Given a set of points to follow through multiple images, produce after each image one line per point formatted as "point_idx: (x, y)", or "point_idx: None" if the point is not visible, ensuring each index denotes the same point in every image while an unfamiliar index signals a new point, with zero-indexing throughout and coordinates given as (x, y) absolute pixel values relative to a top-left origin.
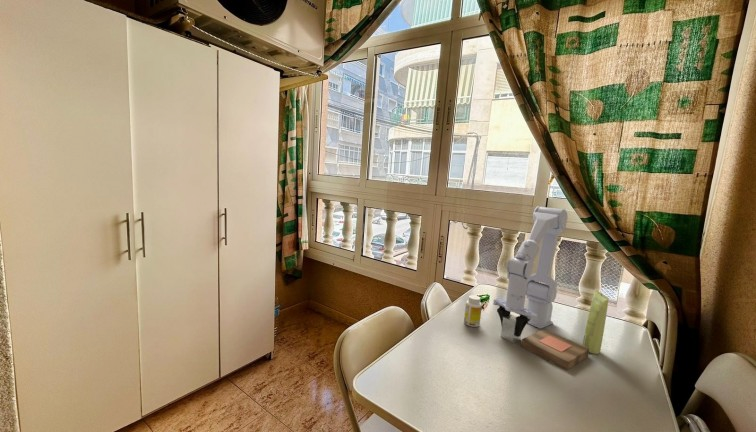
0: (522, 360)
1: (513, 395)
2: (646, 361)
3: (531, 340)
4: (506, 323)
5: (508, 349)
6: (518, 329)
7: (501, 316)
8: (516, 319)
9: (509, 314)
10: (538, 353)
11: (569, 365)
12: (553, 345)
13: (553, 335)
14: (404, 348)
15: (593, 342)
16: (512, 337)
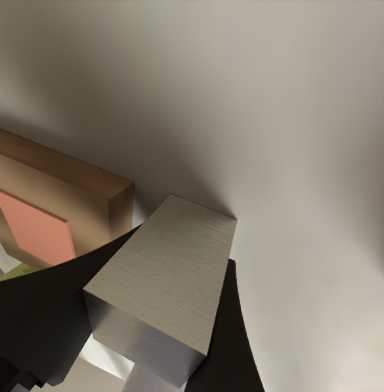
0: (60, 30)
1: None
2: (4, 268)
3: (83, 213)
4: (182, 284)
5: (155, 98)
6: (104, 246)
7: (228, 361)
8: (29, 317)
9: (185, 386)
10: (60, 158)
11: None
12: (28, 218)
13: None
14: None
15: (2, 278)
16: (163, 208)
